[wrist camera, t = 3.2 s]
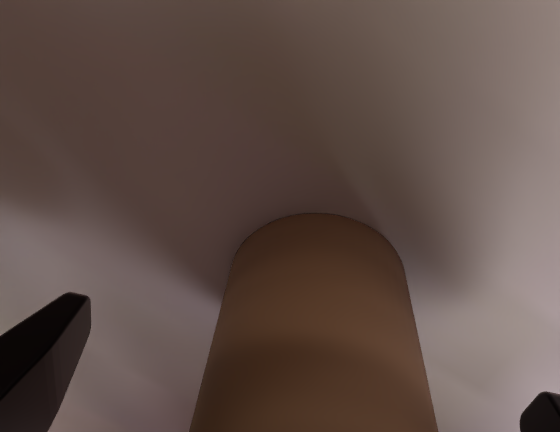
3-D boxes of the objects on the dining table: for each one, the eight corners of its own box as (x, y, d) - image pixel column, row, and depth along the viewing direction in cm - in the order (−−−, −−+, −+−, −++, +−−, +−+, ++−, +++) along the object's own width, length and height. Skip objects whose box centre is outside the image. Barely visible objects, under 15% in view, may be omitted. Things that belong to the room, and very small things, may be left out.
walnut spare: (373, 359, 12) (416, 780, 6) (216, 327, 12) (114, 731, 6) (437, 235, 10) (594, 717, 4) (243, 191, 10) (121, 635, 4)
